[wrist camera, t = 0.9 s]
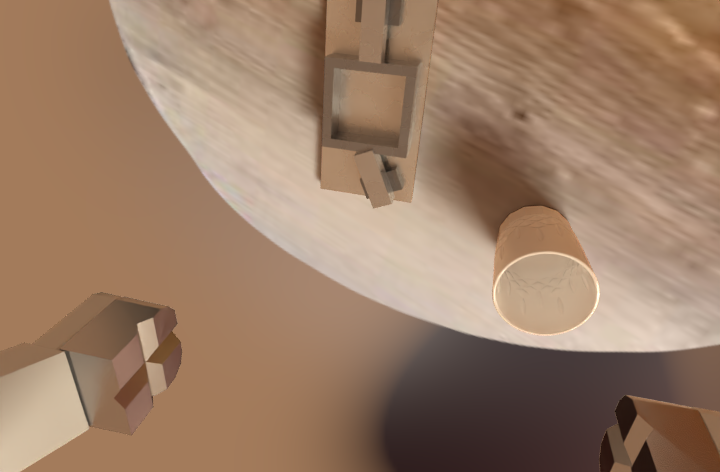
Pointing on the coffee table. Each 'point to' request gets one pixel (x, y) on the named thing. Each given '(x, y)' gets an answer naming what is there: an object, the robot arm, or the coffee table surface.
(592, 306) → the white cup
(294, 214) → the coffee table surface
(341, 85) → the shaft rig
